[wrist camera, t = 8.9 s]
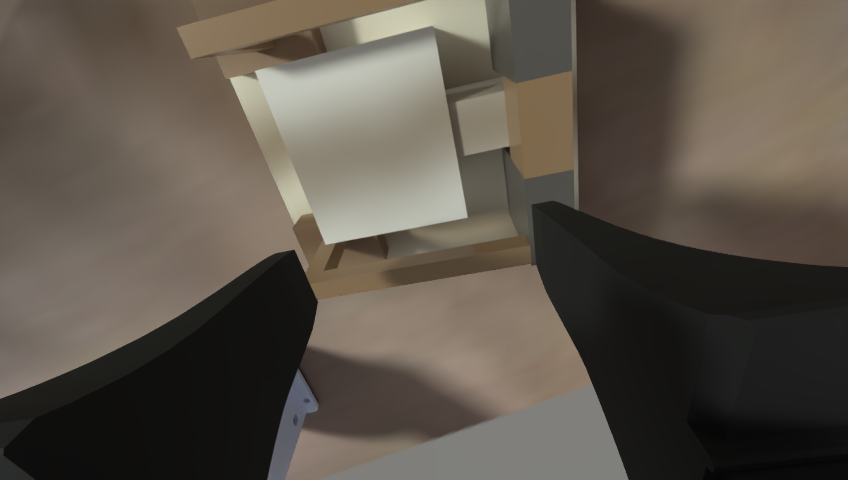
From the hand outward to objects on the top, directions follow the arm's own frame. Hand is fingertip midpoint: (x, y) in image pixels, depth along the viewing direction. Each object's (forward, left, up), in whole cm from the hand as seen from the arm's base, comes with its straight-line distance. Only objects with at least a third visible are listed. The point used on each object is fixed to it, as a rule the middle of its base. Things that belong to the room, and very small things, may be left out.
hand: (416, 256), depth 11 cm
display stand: (+2, 0, -10) cm, 10 cm away
